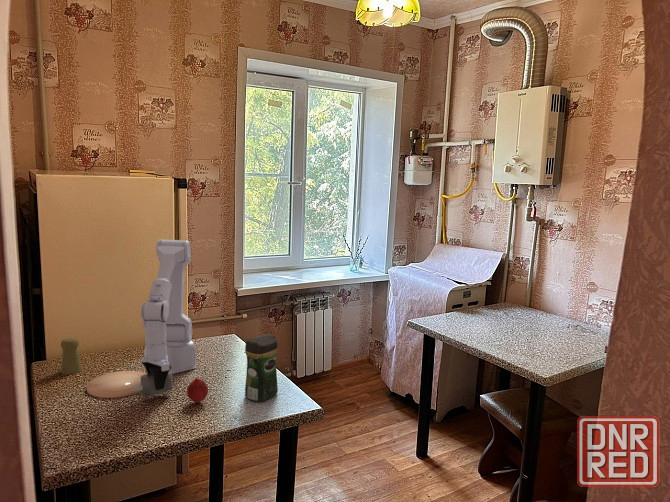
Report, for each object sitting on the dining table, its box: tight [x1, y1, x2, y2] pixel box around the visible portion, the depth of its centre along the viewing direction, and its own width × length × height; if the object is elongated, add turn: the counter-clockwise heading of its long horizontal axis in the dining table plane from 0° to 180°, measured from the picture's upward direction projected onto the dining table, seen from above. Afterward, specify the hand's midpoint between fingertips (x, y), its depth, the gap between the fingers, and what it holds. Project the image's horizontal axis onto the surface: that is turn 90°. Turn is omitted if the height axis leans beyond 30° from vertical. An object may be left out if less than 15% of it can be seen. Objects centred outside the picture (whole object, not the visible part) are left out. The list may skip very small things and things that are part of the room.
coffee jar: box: [244, 333, 279, 403], centre depth 143 cm, size 10×8×19 cm
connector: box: [132, 370, 174, 397], centre depth 139 cm, size 11×4×5 cm, turn 131°
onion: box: [186, 375, 209, 404], centre depth 138 cm, size 6×6×8 cm
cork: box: [60, 337, 82, 376], centre depth 156 cm, size 6×6×11 cm
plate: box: [86, 370, 147, 399], centre depth 148 cm, size 18×18×1 cm
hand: (156, 386), depth 140 cm, fingers closed on connector, 4 cm apart
